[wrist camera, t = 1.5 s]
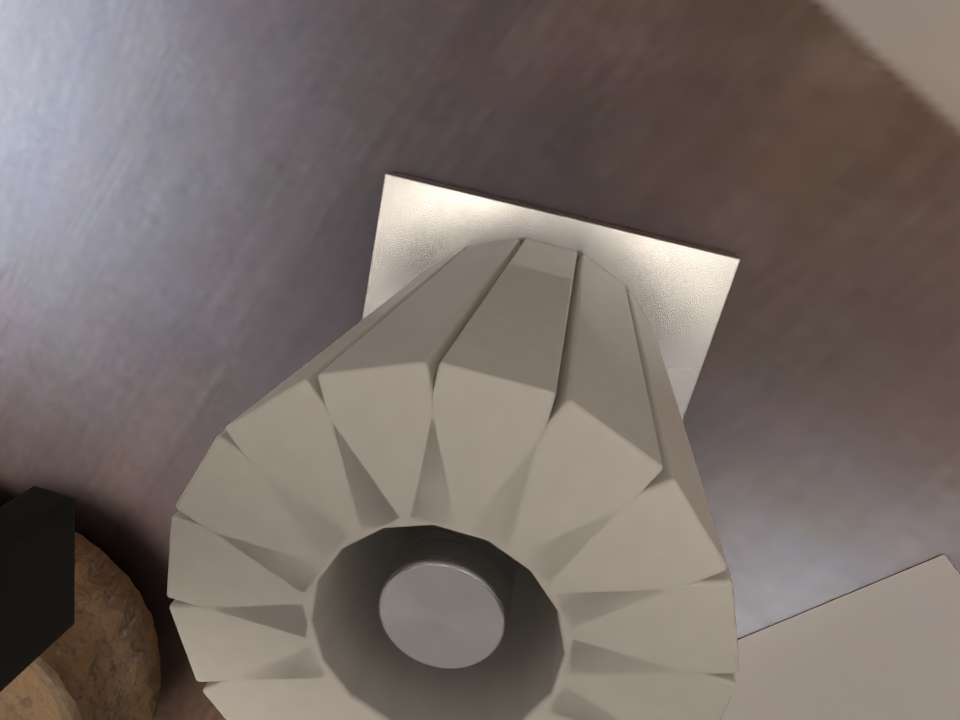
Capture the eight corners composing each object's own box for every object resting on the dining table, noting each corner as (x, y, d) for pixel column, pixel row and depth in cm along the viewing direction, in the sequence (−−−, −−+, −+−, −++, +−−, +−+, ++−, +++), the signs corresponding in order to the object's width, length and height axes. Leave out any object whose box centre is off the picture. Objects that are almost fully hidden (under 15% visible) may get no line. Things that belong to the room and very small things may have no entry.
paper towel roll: (407, 209, 22) (182, 294, 10) (700, 281, 21) (839, 468, 9) (363, 463, 26) (156, 754, 14) (614, 533, 25) (633, 911, 13)
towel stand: (393, 170, 23) (145, 211, 10) (735, 253, 22) (927, 410, 9) (344, 466, 27) (126, 752, 14) (631, 547, 26) (665, 930, 13)
